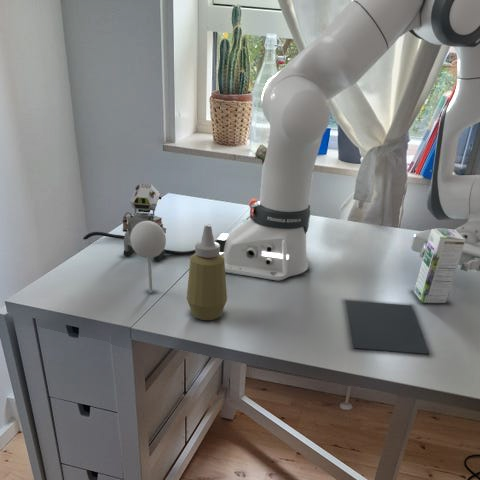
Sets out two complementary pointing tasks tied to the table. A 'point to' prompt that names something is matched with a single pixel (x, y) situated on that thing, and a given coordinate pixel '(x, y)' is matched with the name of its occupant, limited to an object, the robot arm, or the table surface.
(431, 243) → the syrup box
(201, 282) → the squeeze bottle
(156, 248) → the lollipop
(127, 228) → the figurine
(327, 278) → the table surface
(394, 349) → the mat
